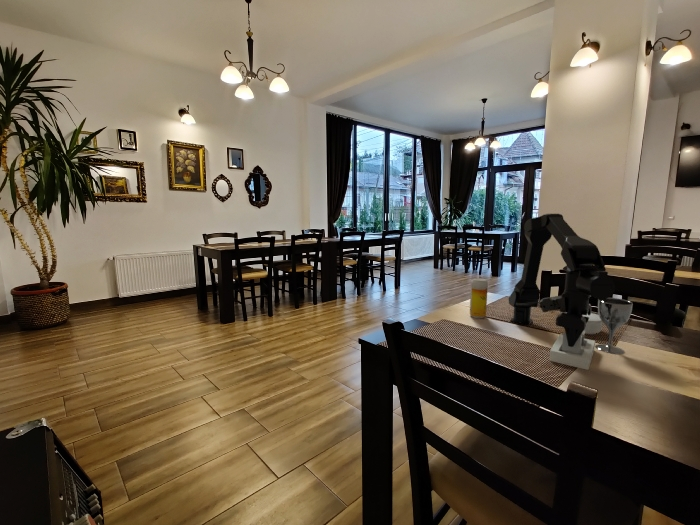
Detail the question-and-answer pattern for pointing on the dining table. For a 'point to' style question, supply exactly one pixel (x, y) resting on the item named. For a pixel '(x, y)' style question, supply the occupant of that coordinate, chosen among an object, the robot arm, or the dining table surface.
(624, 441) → the dining table surface
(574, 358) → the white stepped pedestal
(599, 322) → the ramekin
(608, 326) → the wine glass
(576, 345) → the plug
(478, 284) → the yellow bottle
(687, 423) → the dining table surface
